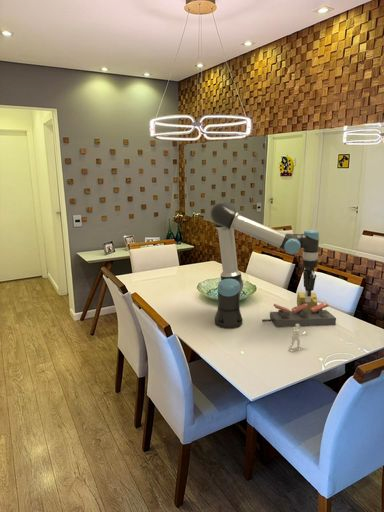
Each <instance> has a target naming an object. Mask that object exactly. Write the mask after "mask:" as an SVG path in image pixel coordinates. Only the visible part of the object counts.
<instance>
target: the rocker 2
mask: <svg viewBox="0 0 384 512" xmlns="http://www.w3.org/2000/svg"><path fill="white" fill-rule="evenodd" d="M308 307H310V306H309V305H308V304H307V303H305V304H302V305H300V306H297V305H296V306H294V307H292V308H291V311H293V312H294V313H296V312H299V311H303V309H306V308H308Z"/></svg>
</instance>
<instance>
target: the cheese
mask: <svg viewBox="0 0 384 512" xmlns="http://www.w3.org/2000/svg"><path fill="white" fill-rule="evenodd" d="M305 303H307V304H308V305H309V306H310V307H308V308H306V309H303V311H307V310H310V308H312V307H314V306H317V305H318V298H317V293H316V292H311V302H305V292H300V291H298V292H297V295H296V307H297V306H300V305H302V304H305Z"/></svg>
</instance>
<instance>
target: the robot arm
mask: <svg viewBox="0 0 384 512" xmlns="http://www.w3.org/2000/svg"><path fill="white" fill-rule="evenodd" d="M209 213H210V214H209V215H210V218H211V221H212V222H213V223H214V228H215V229H216V230H217V233H218V241H219V249H220V257H221V258H220V259H221V268H222V271H221V273H220V280H219V282H218V283H217V311H216V313H215V315H214V316H215V317H214V325H215V326H217V327H218V328H222V329H229V330H230V329H237V328H240V327H242V325H244V323H243V317H242V313H241V310H240V306H241V302H240V301H241V300H240V298H241V294H242V290H243V289H244V282H243V279H242V273H241V271H240V270H239V269H238V258H237V248H236V239H235V230H236V231H238V232H241V233H243V234H245V235H247V236H251V237H252V238H255V239H257V240H260V241H262V242H265V243H267V244H269V245H271V246H273V247H276V248H278V249H280V250H283V251H285V252H286V253H287V254H289V255H296V254H298V253H299V252H300V250H301V249H303V250H302V266H303V267H304V268H303V269H302V273H303V277H302V278H303V287H304V290H305V291H304V293H305V302H311V293H312V292H313V291H314V289H315V285H316V284H315V283H316V278H317V274H315V268H317V267H318V257H319V254H320V253H319V244H320V233H319V231H318V230H316V229H305V230H304V231H303V232H304V233H299V234H298V233H284V232H281V231H278V230H276V229H274V228H271V227H269V226H266V225H264V224H262V223H259V222H257V221H255V220H252V219H250V218H248V217H245V216H243V215H241V214H239V213H240V212H239V211H237V210H236V207H235V206H234V205H233V204H232V203H231V202H230V201H228V200H227V201H225V200H223V201H220V202H217V203H216V204H214V205H213V206H212V207H211V210H210V212H209Z"/></svg>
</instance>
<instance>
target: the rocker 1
mask: <svg viewBox="0 0 384 512" xmlns="http://www.w3.org/2000/svg"><path fill="white" fill-rule="evenodd" d="M273 306H274V308H275V309H277V310H281V311H282V312H284V311H285V312H288V313H291V311H292V310H291V309H289V308H287V307H285V306H281V305H279V304H276V303H273Z"/></svg>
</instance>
